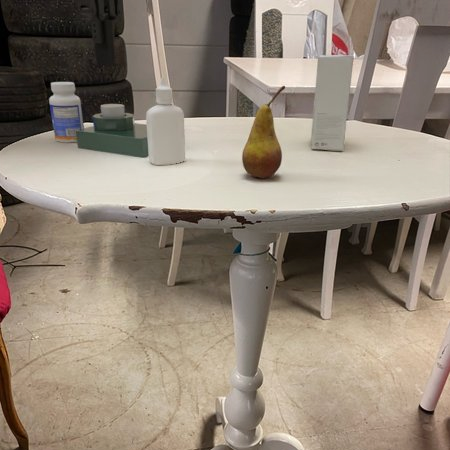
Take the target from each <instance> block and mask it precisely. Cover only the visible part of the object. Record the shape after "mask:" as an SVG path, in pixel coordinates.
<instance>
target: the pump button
mask: <svg viewBox="0 0 450 450" xmlns="http://www.w3.org/2000/svg"><path fill="white" fill-rule="evenodd" d="M100 113H101V114H102V117H107V118H116V117H124V116H125V113H126V110H125V105H124V104H121V103H105V104H101V105H100Z"/></svg>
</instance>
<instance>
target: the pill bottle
mask: <svg viewBox="0 0 450 450" xmlns="http://www.w3.org/2000/svg"><path fill="white" fill-rule="evenodd" d="M50 90H51V92H52V93H53V95H51V96H50V97H49V98H48V104H49V109H50V115H51V122H52V129H53V134H54V139H55V141H57V142H59V143H67V144H69V143H71V144H72V143H77V137H76V130H79V129H83V128H85V126H84V119H83V118H84V117H83V110H82V102H81V98H80V97H79V96H78V95H76V94H75V92H76V85H75V83H74V82H72V81H53V82H50Z"/></svg>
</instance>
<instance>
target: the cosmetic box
mask: <svg viewBox="0 0 450 450" xmlns="http://www.w3.org/2000/svg"><path fill="white" fill-rule="evenodd" d="M354 58H355V56H354V55H351V54H350V55H349V54H322V55H321V54H320V55H318V56H317V66H316V78H315V89H314V100H313V111H312V124H311V141H310V142H311V143H310V149H311V150H325V151H334V152H343V151H344V150H345V139H346V130H347V121H348V113H349V112H348V111H349V110H348V109H349V104H350V103H349V102H350V93H351V86H352V85H351V84H352V74H353V66H354Z"/></svg>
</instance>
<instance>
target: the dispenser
mask: <svg viewBox="0 0 450 450" xmlns="http://www.w3.org/2000/svg"><path fill="white" fill-rule="evenodd" d="M91 118H92V125H93V126H89V127H88V126H87V127H84V128H83V129H79V130H76V137H77V142H76V144H77V148H78V149H82V150H87V151H89V150H90V151H95V152H100V153H101V152H103V153H107V154H108V153H109V154H115V155H123V156H127V157H135V158H147V157H149V154H148V139H147V123H146V124H144V123H137V122H136V123H135V115H134V114H133V113H130V112H125V116H124V117H116V118H107V117H102V114H101V112H100V113H95V114H94V115H93V114H92V117H91Z"/></svg>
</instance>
